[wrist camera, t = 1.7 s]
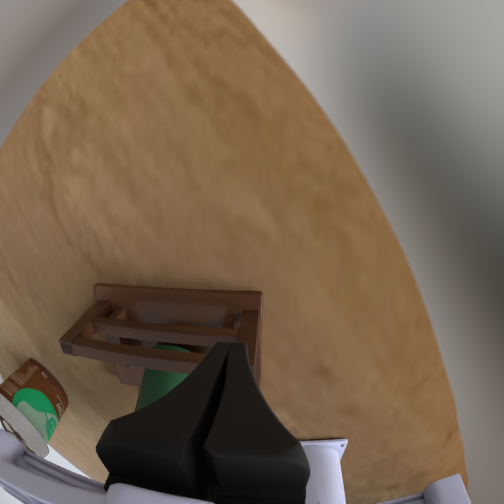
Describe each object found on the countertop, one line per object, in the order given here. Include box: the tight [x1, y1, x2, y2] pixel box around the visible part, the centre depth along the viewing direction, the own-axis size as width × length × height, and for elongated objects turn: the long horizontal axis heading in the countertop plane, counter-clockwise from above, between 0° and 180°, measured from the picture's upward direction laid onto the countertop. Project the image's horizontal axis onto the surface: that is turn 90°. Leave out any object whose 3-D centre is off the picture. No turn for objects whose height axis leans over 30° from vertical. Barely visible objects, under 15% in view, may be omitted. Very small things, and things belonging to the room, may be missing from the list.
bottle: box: [135, 345, 190, 411], centre depth 20 cm, size 4×4×9 cm
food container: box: [0, 358, 68, 458], centre depth 24 cm, size 12×6×10 cm, turn 169°
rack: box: [59, 283, 262, 389], centre depth 21 cm, size 11×14×7 cm
